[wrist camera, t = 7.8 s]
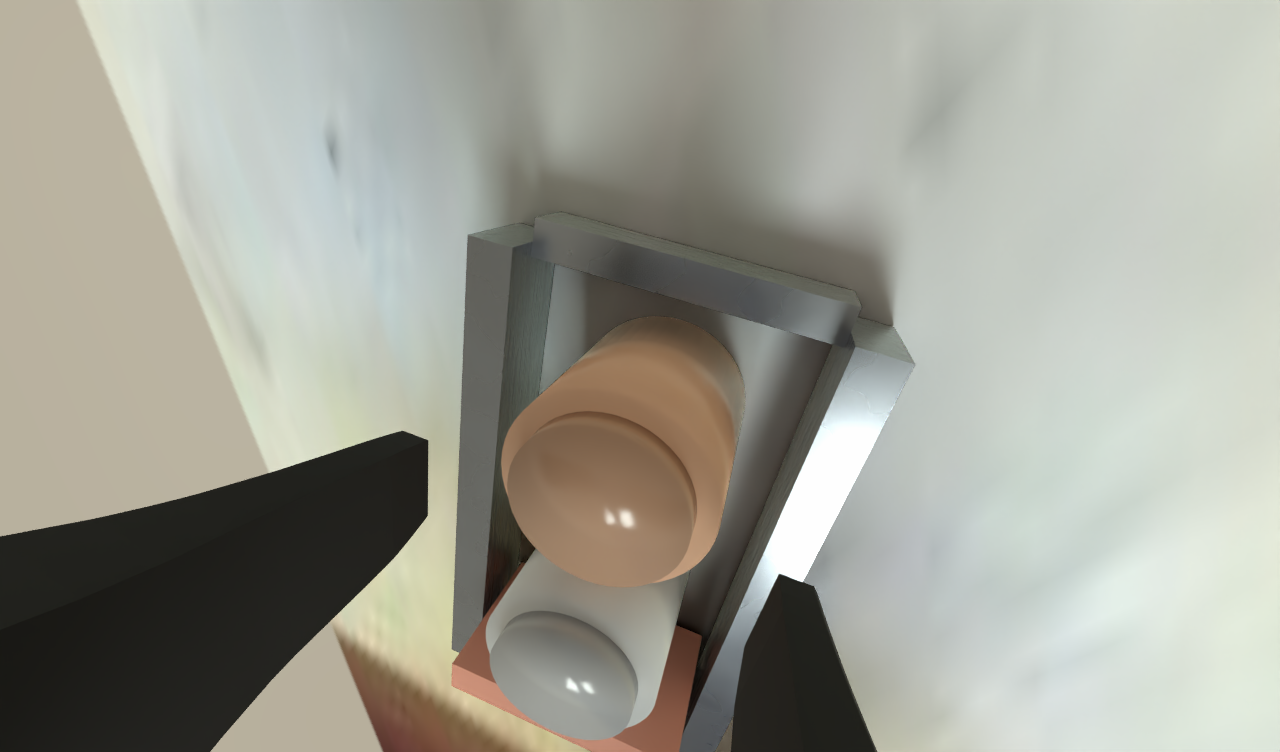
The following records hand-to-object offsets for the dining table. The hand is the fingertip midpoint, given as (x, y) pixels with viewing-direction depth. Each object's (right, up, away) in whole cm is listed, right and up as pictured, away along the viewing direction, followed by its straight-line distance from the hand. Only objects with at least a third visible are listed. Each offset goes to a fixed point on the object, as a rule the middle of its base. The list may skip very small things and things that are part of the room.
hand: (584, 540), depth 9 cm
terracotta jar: (+2, +3, +5) cm, 6 cm away
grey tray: (+1, -1, +7) cm, 7 cm away
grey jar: (+1, -3, +8) cm, 9 cm away
